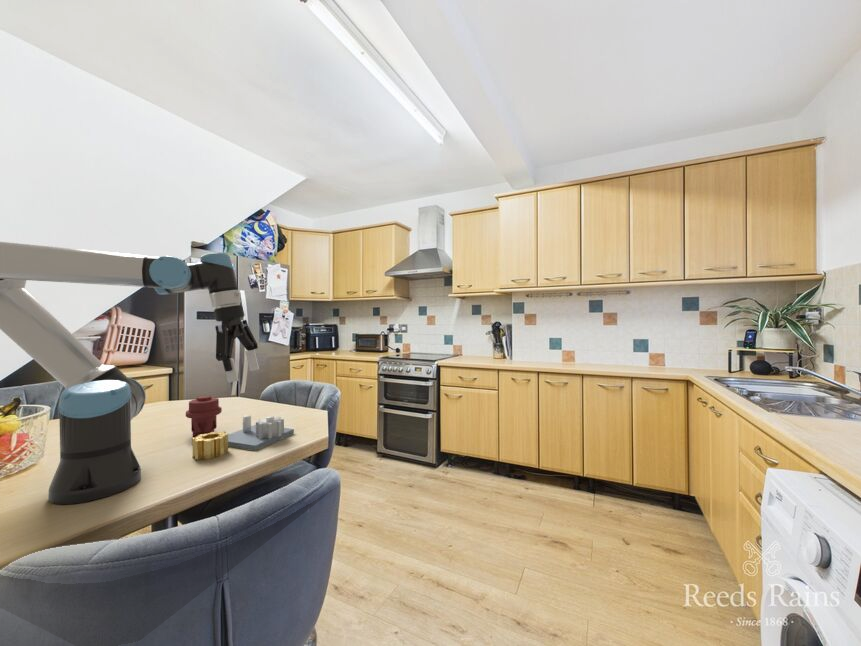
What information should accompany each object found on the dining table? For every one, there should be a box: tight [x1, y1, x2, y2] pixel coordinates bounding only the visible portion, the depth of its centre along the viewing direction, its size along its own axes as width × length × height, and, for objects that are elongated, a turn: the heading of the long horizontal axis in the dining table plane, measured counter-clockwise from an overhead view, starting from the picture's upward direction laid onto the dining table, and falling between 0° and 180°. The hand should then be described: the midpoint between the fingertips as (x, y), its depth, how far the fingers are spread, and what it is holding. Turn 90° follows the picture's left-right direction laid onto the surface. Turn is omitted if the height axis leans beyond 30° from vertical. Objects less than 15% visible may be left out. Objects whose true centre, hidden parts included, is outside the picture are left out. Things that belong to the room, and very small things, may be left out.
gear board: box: [227, 414, 295, 452], centre depth 112 cm, size 16×17×7 cm
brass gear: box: [191, 431, 229, 461], centre depth 99 cm, size 8×8×5 cm
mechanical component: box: [185, 395, 223, 437], centre depth 117 cm, size 12×10×10 cm
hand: (244, 375), depth 106 cm, fingers open, 13 cm apart
